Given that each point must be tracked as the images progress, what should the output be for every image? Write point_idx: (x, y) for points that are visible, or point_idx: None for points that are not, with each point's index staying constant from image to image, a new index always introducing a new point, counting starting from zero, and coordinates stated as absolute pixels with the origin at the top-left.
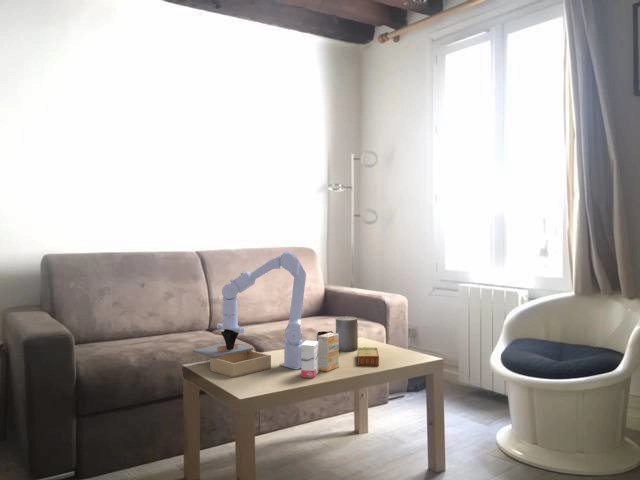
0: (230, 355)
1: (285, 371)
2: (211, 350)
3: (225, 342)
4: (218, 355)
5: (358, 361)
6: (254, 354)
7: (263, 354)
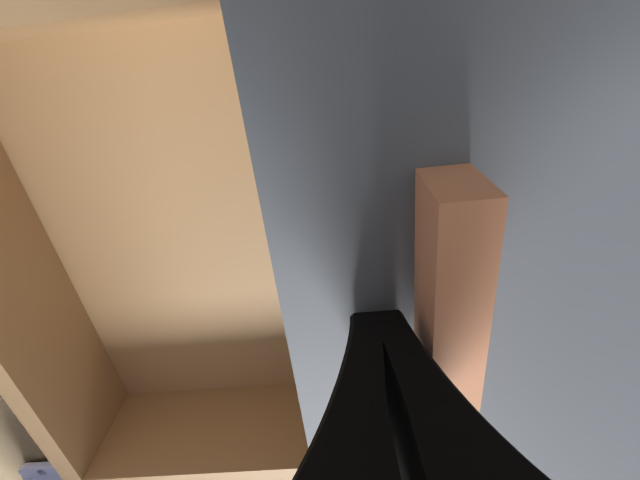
0: None
1: (11, 415)
2: (631, 135)
3: (445, 381)
4: (230, 44)
5: None
6: (269, 447)
7: (140, 474)
